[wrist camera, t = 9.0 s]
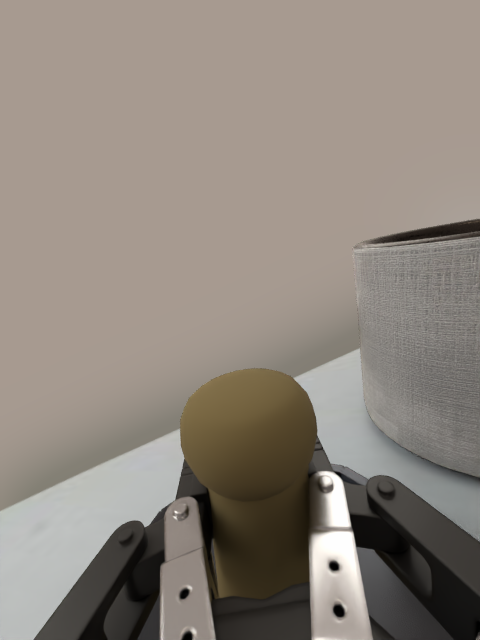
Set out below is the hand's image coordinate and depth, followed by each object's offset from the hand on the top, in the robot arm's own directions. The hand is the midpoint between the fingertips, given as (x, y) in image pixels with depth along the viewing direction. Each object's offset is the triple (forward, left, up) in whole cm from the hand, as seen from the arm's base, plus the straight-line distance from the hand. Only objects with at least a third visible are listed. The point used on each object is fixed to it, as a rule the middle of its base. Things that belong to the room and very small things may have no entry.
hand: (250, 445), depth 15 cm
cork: (+1, +2, -6) cm, 7 cm away
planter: (-19, +3, -7) cm, 21 cm away
